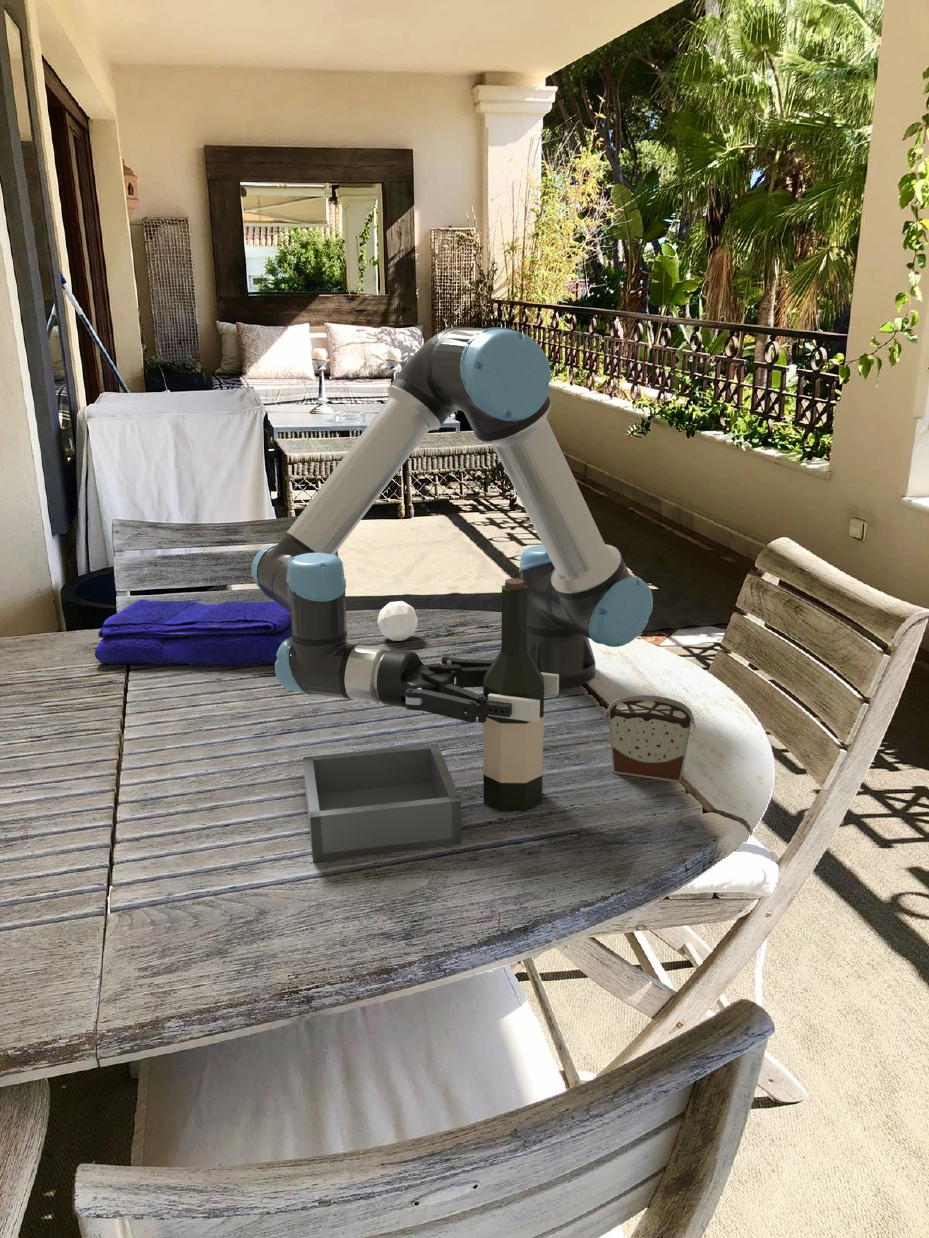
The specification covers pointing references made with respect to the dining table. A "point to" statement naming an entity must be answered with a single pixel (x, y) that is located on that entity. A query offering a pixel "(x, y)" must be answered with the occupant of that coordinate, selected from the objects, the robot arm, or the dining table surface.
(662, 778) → the food container
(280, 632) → the towel
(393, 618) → the ball
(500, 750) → the wine bottle
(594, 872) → the dining table surface
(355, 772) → the tote
